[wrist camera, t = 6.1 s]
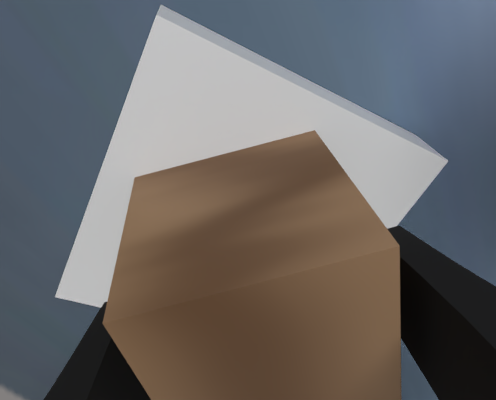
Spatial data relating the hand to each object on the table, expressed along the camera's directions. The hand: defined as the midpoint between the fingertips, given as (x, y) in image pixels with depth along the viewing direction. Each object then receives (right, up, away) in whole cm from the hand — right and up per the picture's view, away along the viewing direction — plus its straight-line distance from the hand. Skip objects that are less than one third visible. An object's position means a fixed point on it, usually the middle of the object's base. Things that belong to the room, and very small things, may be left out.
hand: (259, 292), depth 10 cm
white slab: (-1, +2, +4) cm, 5 cm away
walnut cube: (0, +2, +2) cm, 3 cm away
